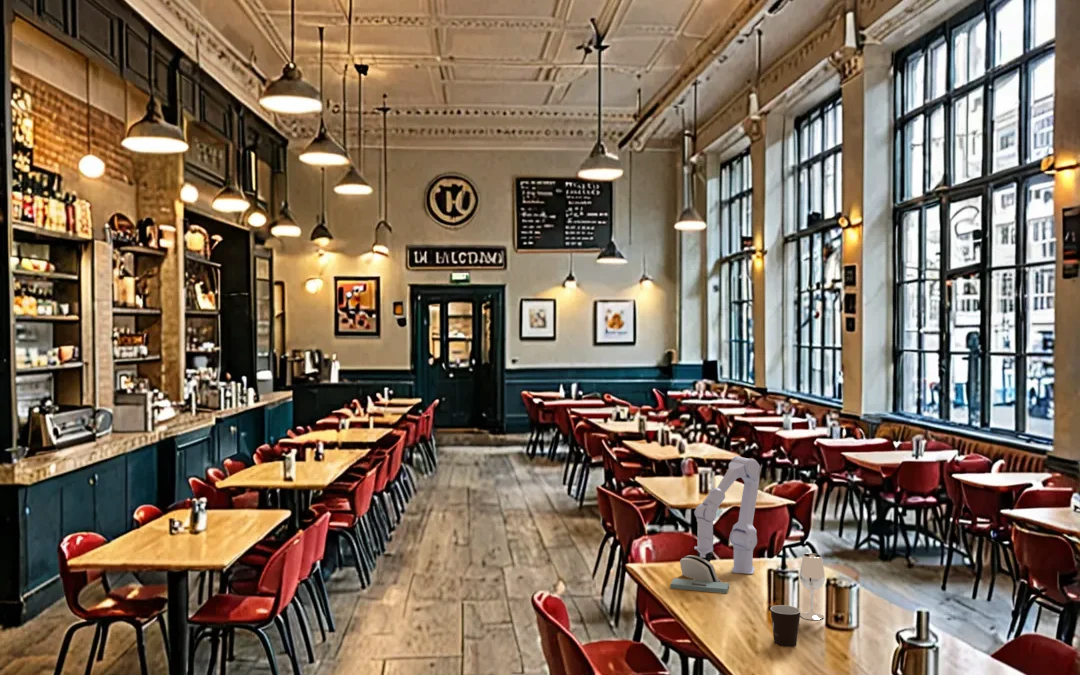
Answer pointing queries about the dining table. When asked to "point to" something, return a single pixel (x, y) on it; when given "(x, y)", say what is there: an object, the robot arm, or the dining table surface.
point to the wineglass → (812, 580)
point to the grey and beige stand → (698, 569)
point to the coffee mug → (785, 625)
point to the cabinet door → (699, 585)
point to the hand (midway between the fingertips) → (704, 572)
